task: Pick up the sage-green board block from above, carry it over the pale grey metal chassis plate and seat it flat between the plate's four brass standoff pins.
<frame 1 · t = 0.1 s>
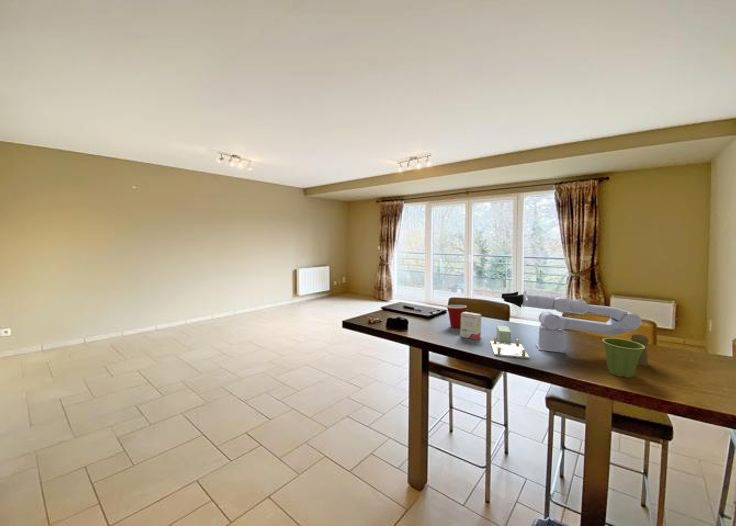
hand: (502, 297, 142), 22 cm above the table, tool horizontal, fingers open, 7 cm apart
plant pot: (620, 374, 112), on the table
grey upright block: (638, 363, 123), on the table
ink box: (470, 337, 154), on the table
chassis plate: (508, 350, 135), on the table
board block: (503, 339, 150), on the table
plastic cup: (455, 327, 172), on the table
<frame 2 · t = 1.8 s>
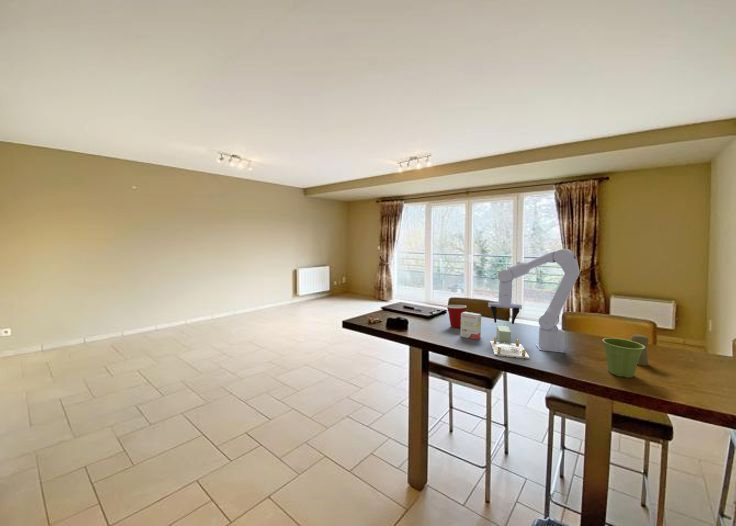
hand: (503, 322, 150), 8 cm above the table, tool pointing down, fingers open, 7 cm apart
nothing on the table moved.
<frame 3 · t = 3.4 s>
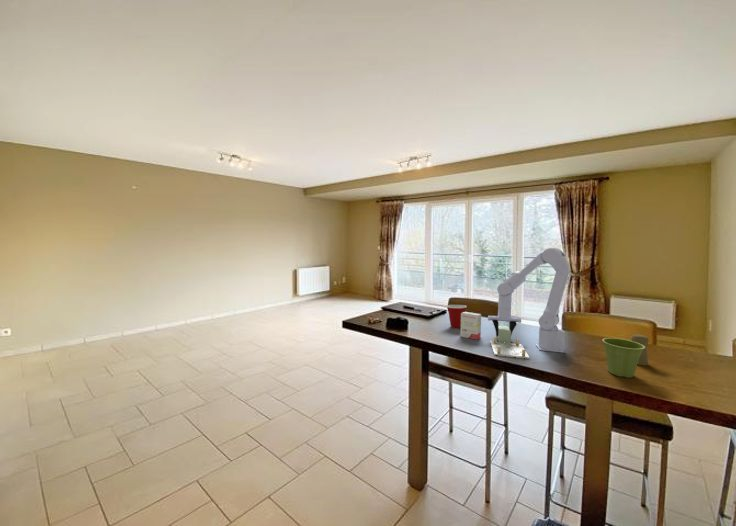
hand: (503, 336, 150), 2 cm above the table, tool pointing down, fingers closed on board block, 5 cm apart
board block: (503, 339, 150), on the table, touching gripper
everything else where it was.
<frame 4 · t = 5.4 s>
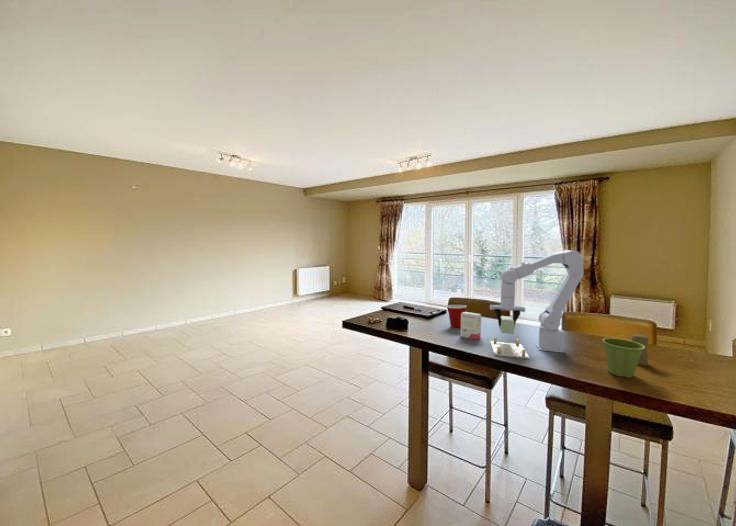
hand: (506, 326, 142), 8 cm above the table, tool pointing down, fingers closed on board block, 5 cm apart
board block: (506, 330, 143), point 6 cm above the table, touching gripper
everything else where it was.
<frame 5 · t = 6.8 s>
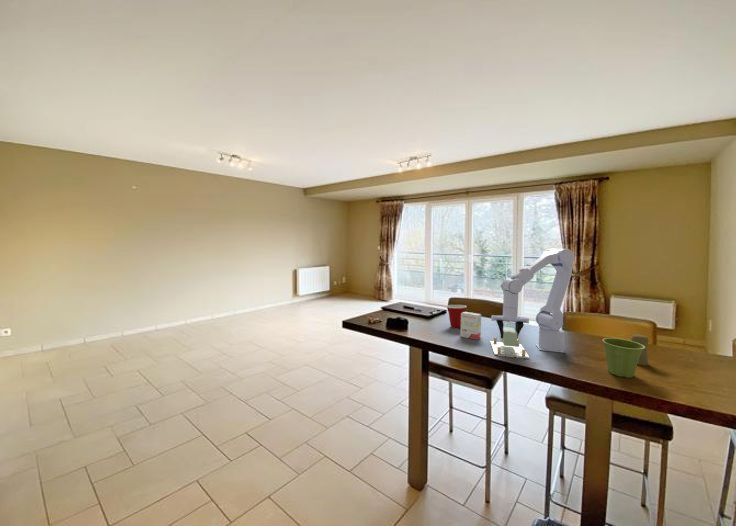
hand: (508, 338, 135), 5 cm above the table, tool pointing down, fingers closed on board block, 5 cm apart
board block: (508, 342, 135), point 3 cm above the table, touching gripper
everything else where it was.
when the fingers open (4 cm above the table, at t = 7.7 s): board block stays where it is, resting on chassis plate.
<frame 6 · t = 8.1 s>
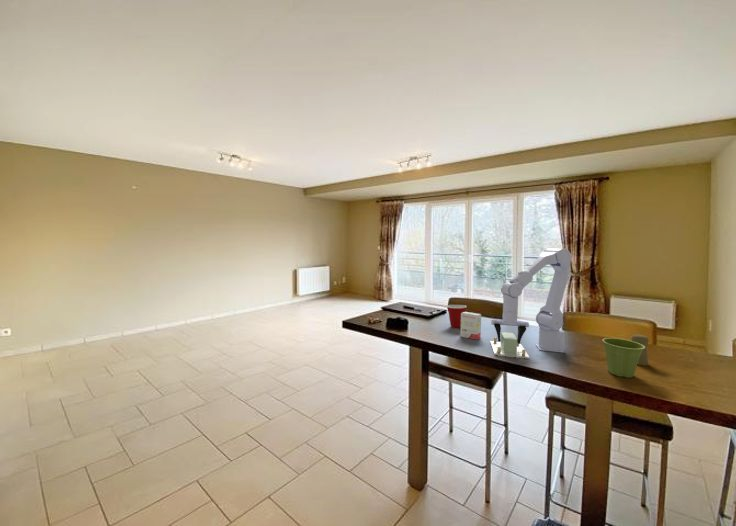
hand: (508, 342, 135), 4 cm above the table, tool pointing down, fingers open, 7 cm apart
board block: (508, 348, 135), point 1 cm above the table, touching chassis plate
everything else where it was.
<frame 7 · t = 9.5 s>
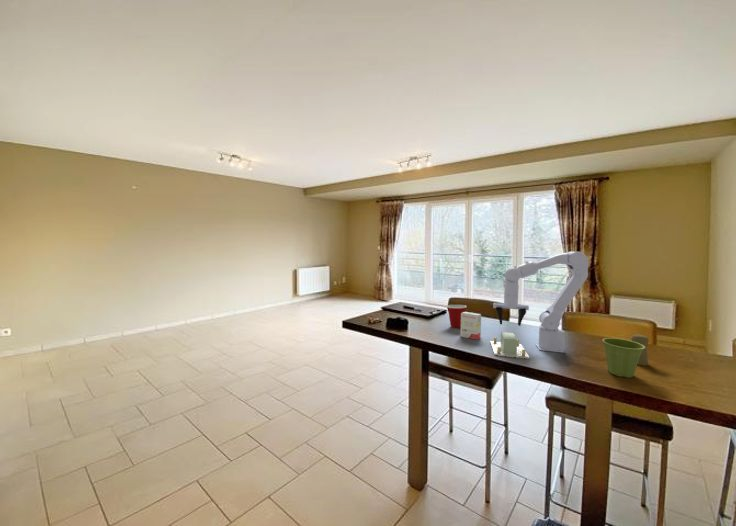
hand: (509, 324, 143), 9 cm above the table, tool pointing down, fingers open, 7 cm apart
nothing on the table moved.
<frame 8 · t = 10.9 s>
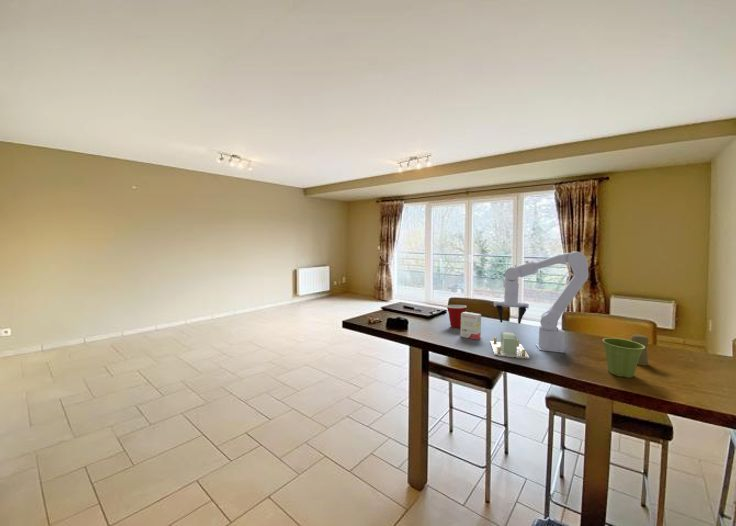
hand: (510, 322, 145), 9 cm above the table, tool pointing down, fingers open, 7 cm apart
nothing on the table moved.
at the end: board block 0.5 cm off-centre on the chassis plate, point 0.8 cm above the chassis plate's base; board block tilted 0°; the gripper is holding nothing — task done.
